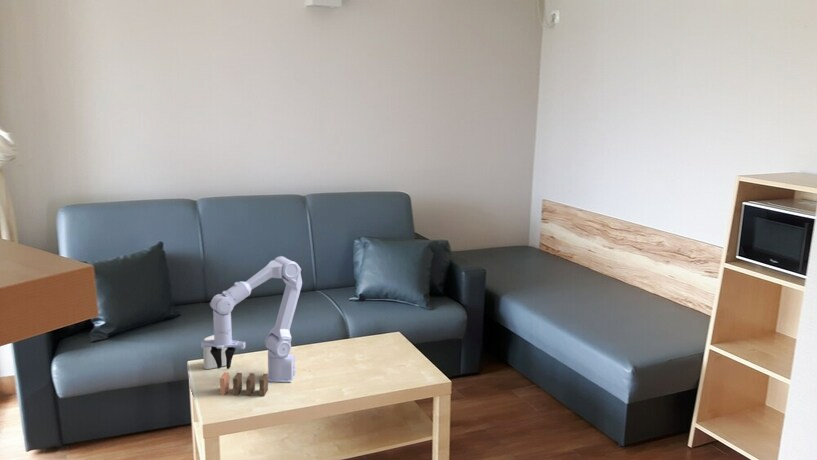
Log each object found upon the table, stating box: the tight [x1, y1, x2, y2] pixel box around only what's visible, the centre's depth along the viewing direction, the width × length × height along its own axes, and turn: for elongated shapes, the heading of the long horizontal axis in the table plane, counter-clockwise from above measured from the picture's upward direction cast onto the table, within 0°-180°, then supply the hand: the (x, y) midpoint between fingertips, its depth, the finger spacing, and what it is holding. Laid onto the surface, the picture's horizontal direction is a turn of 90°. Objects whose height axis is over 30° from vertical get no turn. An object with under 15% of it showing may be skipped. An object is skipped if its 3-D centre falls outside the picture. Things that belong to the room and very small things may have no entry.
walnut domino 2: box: [245, 372, 256, 397], centre depth 211 cm, size 2×5×6 cm, turn 178°
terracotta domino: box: [219, 371, 230, 396], centre depth 212 cm, size 2×5×6 cm, turn 179°
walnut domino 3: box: [258, 373, 269, 397], centre depth 211 cm, size 2×5×6 cm, turn 178°
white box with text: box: [202, 334, 227, 370], centre depth 231 cm, size 10×4×12 cm, turn 123°
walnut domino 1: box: [232, 372, 243, 396], centre depth 212 cm, size 2×5×6 cm, turn 178°
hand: (224, 367), depth 211 cm, fingers open, 2 cm apart
